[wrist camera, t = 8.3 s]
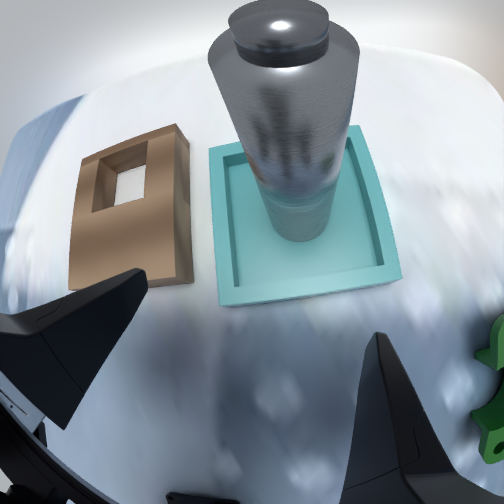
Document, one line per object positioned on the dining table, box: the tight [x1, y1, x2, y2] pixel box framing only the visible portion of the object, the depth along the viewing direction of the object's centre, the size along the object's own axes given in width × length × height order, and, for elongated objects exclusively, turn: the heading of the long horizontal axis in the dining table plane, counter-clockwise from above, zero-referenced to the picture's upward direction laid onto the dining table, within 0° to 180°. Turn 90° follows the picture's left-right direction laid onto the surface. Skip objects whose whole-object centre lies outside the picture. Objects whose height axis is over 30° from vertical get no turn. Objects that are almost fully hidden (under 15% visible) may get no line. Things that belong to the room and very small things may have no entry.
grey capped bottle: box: [208, 0, 360, 242], centre depth 11 cm, size 4×4×14 cm
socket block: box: [68, 123, 194, 291], centre depth 20 cm, size 12×10×3 cm
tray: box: [209, 125, 402, 307], centre depth 18 cm, size 11×11×2 cm
